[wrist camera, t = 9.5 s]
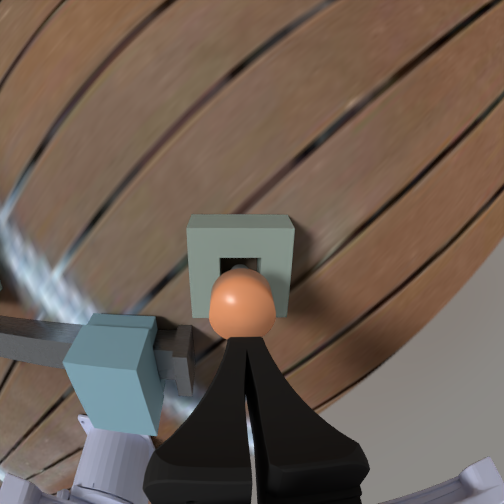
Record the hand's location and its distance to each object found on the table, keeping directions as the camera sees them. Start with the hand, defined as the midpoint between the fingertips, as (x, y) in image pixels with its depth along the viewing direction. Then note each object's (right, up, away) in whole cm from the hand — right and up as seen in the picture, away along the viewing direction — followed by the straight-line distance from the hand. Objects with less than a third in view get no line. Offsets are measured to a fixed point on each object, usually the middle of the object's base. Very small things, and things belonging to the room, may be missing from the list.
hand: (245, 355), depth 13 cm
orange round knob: (0, +3, +7) cm, 7 cm away
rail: (-15, -3, +11) cm, 19 cm away
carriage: (-9, -3, +11) cm, 15 cm away
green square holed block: (-1, +4, +9) cm, 9 cm away
